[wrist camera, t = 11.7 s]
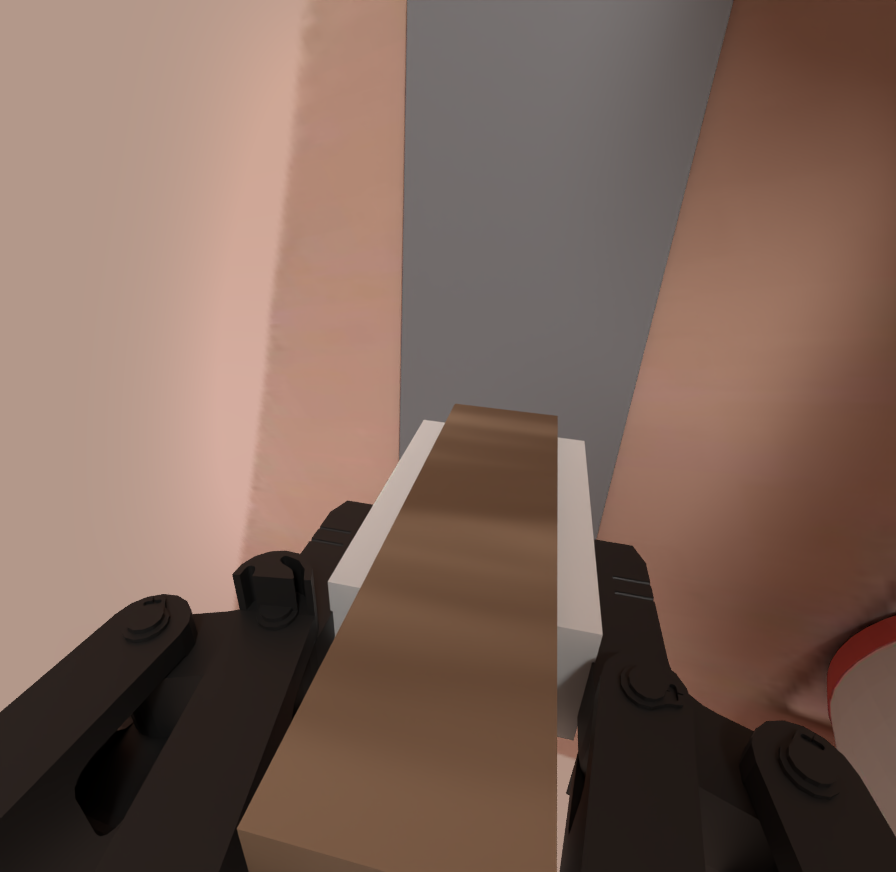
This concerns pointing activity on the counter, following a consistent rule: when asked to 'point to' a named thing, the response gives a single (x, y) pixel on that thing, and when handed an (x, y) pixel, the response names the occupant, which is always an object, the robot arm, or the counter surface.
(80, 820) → the robot arm
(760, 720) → the counter surface
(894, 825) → the citrus juicer
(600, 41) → the grey board
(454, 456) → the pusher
